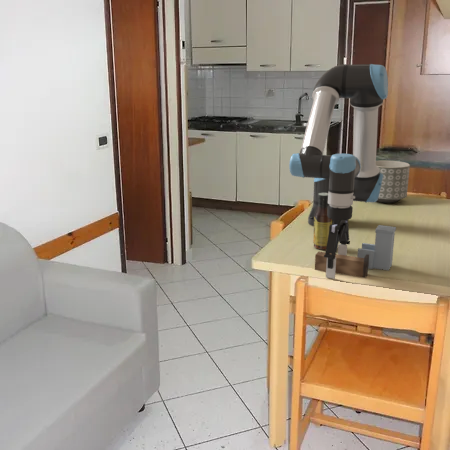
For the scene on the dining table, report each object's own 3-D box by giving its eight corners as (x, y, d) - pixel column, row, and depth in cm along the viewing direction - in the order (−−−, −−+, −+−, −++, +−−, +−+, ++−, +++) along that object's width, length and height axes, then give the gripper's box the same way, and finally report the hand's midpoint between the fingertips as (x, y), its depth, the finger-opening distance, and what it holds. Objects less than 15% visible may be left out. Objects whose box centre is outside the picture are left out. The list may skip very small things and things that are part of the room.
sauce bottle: (318, 243, 194) (321, 190, 188) (334, 247, 190) (337, 193, 185) (309, 248, 189) (311, 193, 183) (325, 251, 185) (327, 196, 180)
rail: (314, 269, 169) (315, 250, 167) (317, 265, 172) (318, 247, 170) (365, 277, 162) (366, 258, 161) (367, 273, 166) (369, 254, 164)
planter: (357, 197, 262) (360, 161, 257) (390, 195, 267) (394, 159, 262) (379, 207, 245) (382, 168, 239) (414, 204, 250) (418, 165, 245)
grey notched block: (356, 266, 171) (359, 228, 168) (361, 259, 178) (364, 222, 174) (389, 271, 167) (392, 232, 163) (392, 264, 173) (396, 226, 170)
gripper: (342, 216, 150) (337, 286, 155) (361, 198, 171) (356, 259, 177) (316, 213, 153) (312, 281, 159) (338, 195, 174) (334, 256, 180)
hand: (336, 270), depth 168 cm, fingers open, 13 cm apart
